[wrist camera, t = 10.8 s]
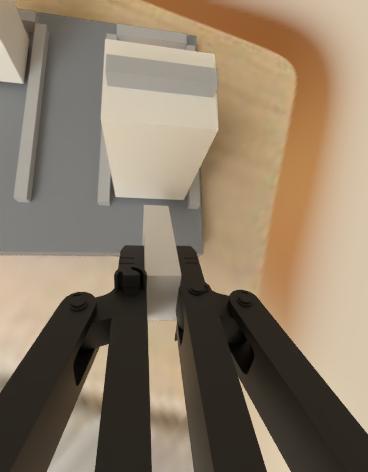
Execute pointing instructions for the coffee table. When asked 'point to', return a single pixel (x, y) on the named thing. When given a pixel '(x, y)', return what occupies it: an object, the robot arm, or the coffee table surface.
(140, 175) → the tab
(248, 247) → the coffee table surface
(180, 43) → the switch board
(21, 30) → the tab
